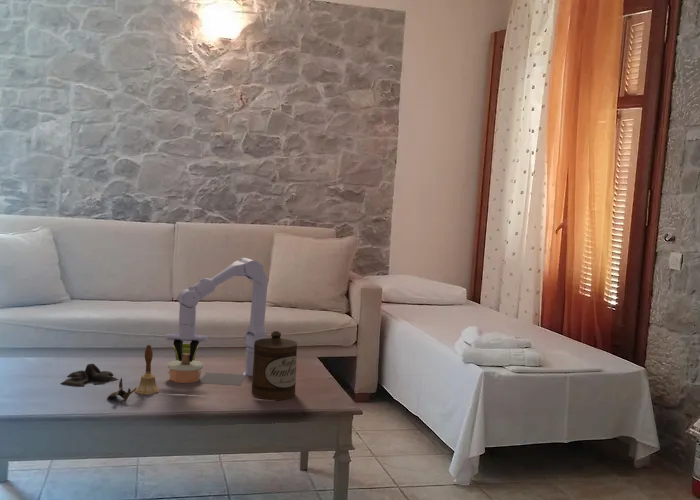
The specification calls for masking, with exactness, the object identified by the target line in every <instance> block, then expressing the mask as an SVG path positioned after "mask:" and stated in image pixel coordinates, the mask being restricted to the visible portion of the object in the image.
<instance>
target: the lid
mask: <svg viewBox="0 0 700 500" xmlns="http://www.w3.org/2000/svg"><path fill="white" fill-rule="evenodd" d="M167 368H168V369H169V370H170V369H172V370H177V371H194V370H199V369H201V370H202V369H203V368H204V363H203V362H202V361H199V360H193V361H192V362H190V354H188V353H183V354H181V361H179V360H177V361H176V360H172V361H169V362H168V363H167Z"/></svg>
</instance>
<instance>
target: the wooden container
mask: <svg viewBox="0 0 700 500" xmlns="http://www.w3.org/2000/svg"><path fill="white" fill-rule="evenodd" d="M270 336H271V337H269V338H268V337H267V338H265V339H259V340H256V341H255V344H254V362H253V375H252V377H251V378H252V379H251V382H252V384H251V394H252V395H253V396H256V397H257V398H259V399H260V400H266V401H283V400H288V399H289V400H290V399H292V398H293V397H295V395H296V381H297V380H296V379H297V354H298V353H297V352H298V351H297V349H298V343H297V342H296V341H295V340H292V339H287V338H282V337H281V336H282V333H281V332H280V331H279V330H274V331H272V332H271V333H270Z"/></svg>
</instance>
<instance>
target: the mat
mask: <svg viewBox="0 0 700 500" xmlns="http://www.w3.org/2000/svg"><path fill="white" fill-rule="evenodd" d="M246 377H247V375H243V374H241V373H223V372H221V373H220V372H205V373H204V374H203V376H202V377H201V378H200V379H199V381H197V384H204V385H205V384H206V385H207V384H208V385H220V386H221V385H224V386H239V387H240V386H241V385H242V384H243V382H244V380H245V379H246Z"/></svg>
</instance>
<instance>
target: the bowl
mask: <svg viewBox="0 0 700 500" xmlns="http://www.w3.org/2000/svg"><path fill="white" fill-rule="evenodd" d="M201 370H202V369H199V370H194V371H177V370H172V369H169V380H170V381H172V382H174V383H180V384H181V383H183V384H190V383H195V382H197V383H198V382H199V381H200V380H201V375H202V374H201V373H202V372H201Z"/></svg>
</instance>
